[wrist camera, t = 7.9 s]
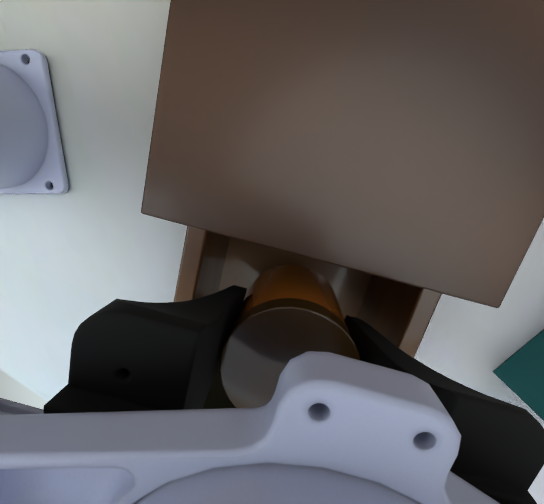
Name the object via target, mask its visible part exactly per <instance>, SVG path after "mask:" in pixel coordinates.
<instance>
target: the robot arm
mask: <svg viewBox="0 0 544 504" xmlns="http://www.w3.org/2000/svg"><path fill="white" fill-rule="evenodd" d="M28 58H30V62H29V64H28V63H27V60H28ZM50 183H52V184H53V189H52V188H51V186H50ZM68 188H69V185H68V179H67V174H66V168H65V162H64V156H63V150H62V144H61V139H60V133H59V127H58V121H57V115H56V110H55V104H54V98H53V92H52V86H51V81H50V75H49V69H48V63H47V59H46V57H45V56H44V54H42V53H41V52H39V51H37V50H33V49H30V50H8V51H0V194H62V193H66V192H67V191H68ZM246 290H247V288H243V287H239V286H236V285H233V286H230V287H228V288H226V289H223V290H221V291H218V292H216V293H213V294H210V295H207V296H204V297H201V298H198V299H193V300H188V301H181V302H170V303H147V302H136V301H128V300H121V299H116V300H114V301H113V302H111V303H110V304H108V305H107V306H105V307H104V308H102V309H100V310H99V311H97V312H96V313H94V314H93V315H91V316H90V317H89V318H87V319H86V320H85V321H84V322H82V323H81V324H80V326H79V327H78V329H77V330H76V332H75V334H74V338H73V342H72V348H71V359H70V370H69V381H68V383H69V384H68V385H67V386H65V387H64V388H63V389H62V390H61V391H60V392H59V393H58V394H56V395H55V396H54V397H53V398H52V399H51V400H50V401H49V402H48V403H46V404H45V405H44V410H42V409H39V408H35V407H31V406H28V405H24V404H21V403H17V402H13V401H10V400H6V399H2V398H0V504H537V503H536V501H535V500H534V499H533V497H532V496H531V495H530V493H529V492H528V491H527V490H528V489H529V487H530V486H531V484H532V482H533V481H534V479H535V478H536V476H537V475H538V473H539V471H540V470H541V468H542V467H543V465H544V429H543V427H542V426H541V424H540V423H539V422H538V421H537V420H536V419H535V418H534V417H533V416H532V415H531V414H530V413H529V412H528V411H527V410H525V409H523V408H520V407H518V406H515V405H512V404H509V403H507V402H504V401H501V400H498V399H496V398H493V397H490V396H487V395H485V394H482V393H480V392H478V391H475V390H473V389H471V388H468V387H466V386H464V385H462V384H460V383H458V382H455V381H453V380H451V379H449V378H447V377H445V376H444V375H442V374H440V373H438V372H436V371H434V370H432V369H431V368H429V367H427V366H425V365H424V364H422V363H421V362H419V361H417V360H416V359H414V358H413V357H411V356H410V355H408V354H407V353H405V352H404V351H402V350H401V349H400V348H398V347H397V346H396V345H394V344H393V343H392V342H390V341H389V340H388V339H386V338H385V337H384V336H383V335H381V334H380V333H379V332H378V331H376V330H375V329H374V328H373V327H371V326H370V325H369V324H367V323H366V322H365V321H363V320H361V319H359V318H355V317H351V316H348V315H346V318H345V321H346V324H347V327H348V329H349V331H350V332H351V335H352V337H353V339H354V341H355V344H356V346H357V349H358V352H359V355H360V358H361V361H360V360H356V359H353V358H349V357H345V356H341V355H338V354H334V353H330V352H315V351H307V352H305V353H303V354H301V355H299V356H297V357H295V358H293V359H290V361H289V362H288V364H287V365H286V367H285V368H284V370H283V371H282V372H281V374H280V377H279V380H278V383H277V387H276V390H275V393H274V395H273V397H272V399H271V400H270V401H269V403H268V404H266V405H264V406H262V407H257V408H223V409H202V408H203V406H204V403H205V400H206V397H207V395H208V392H209V390H210V387H211V385H212V383H213V381H214V379H215V377H216V375H217V373H218V371H219V369H220V356H221V352H222V349H223V346H224V343H225V341H226V339H227V336H228V334H229V332H230V330H231V328H232V327H233V325H234V323H235V321H236V318H237V316H238V314H239V312H240V309H241V307H242V304H243V302H244V298H245V294H246Z"/></svg>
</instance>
